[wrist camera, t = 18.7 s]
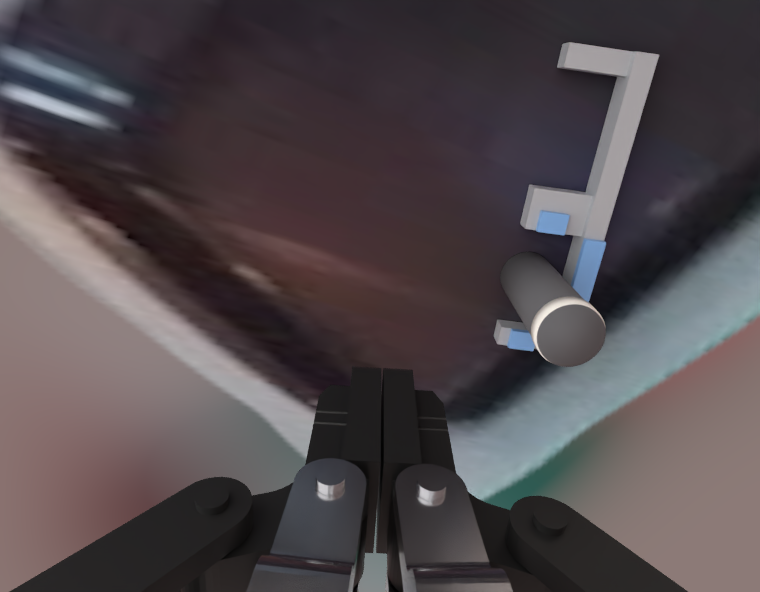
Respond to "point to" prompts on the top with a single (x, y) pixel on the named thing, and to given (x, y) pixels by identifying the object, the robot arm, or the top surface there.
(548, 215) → the grey blue frame
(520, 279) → the grey cylinder post
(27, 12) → the top surface
